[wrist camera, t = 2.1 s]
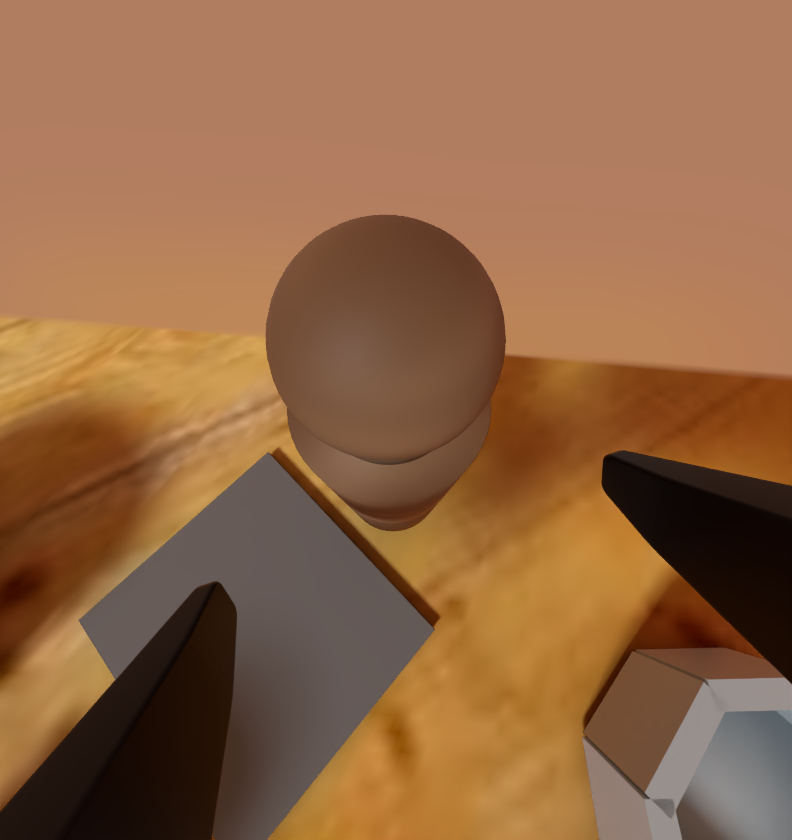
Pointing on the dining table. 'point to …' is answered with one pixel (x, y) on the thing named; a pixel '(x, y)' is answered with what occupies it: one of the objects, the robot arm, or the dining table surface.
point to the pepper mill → (386, 362)
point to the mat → (273, 635)
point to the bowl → (692, 748)
